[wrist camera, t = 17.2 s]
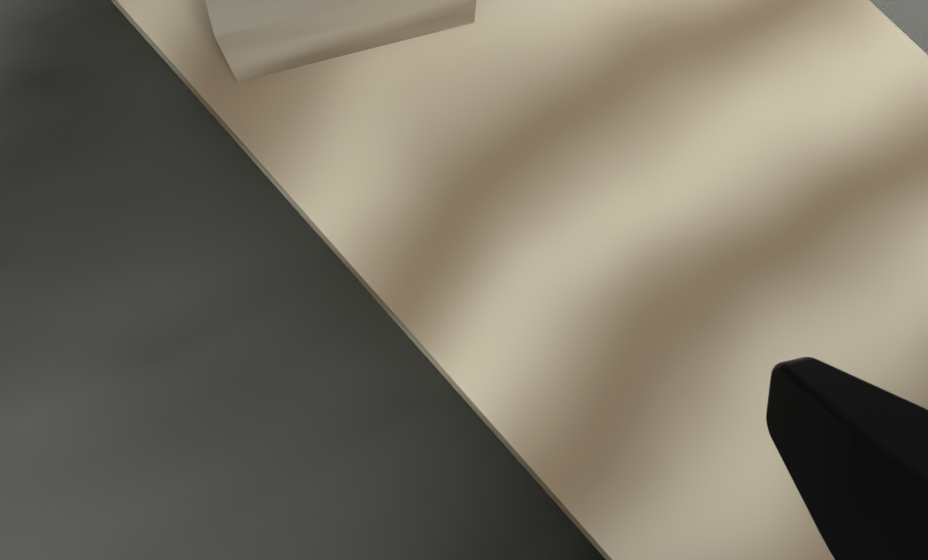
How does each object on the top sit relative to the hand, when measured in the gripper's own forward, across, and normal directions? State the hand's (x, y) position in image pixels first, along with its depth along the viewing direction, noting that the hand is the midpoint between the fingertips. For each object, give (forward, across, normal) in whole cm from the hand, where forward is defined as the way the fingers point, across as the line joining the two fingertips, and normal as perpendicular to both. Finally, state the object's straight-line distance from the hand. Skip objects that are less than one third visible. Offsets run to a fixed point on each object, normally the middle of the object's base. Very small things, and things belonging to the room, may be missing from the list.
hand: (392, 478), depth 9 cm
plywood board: (+16, -8, +4) cm, 18 cm away
